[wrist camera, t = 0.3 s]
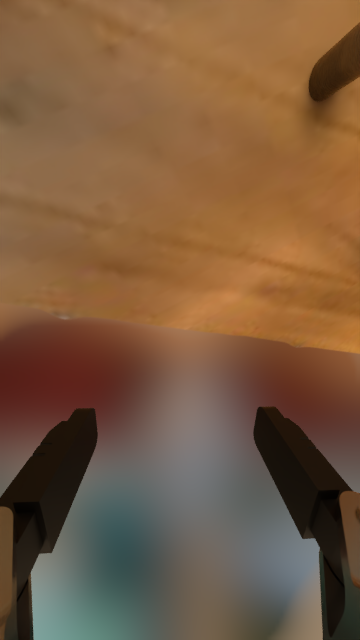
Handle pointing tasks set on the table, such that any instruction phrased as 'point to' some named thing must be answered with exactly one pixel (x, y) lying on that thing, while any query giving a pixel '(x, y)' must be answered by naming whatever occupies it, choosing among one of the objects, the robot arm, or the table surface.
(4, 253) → the table surface
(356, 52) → the tall pin
